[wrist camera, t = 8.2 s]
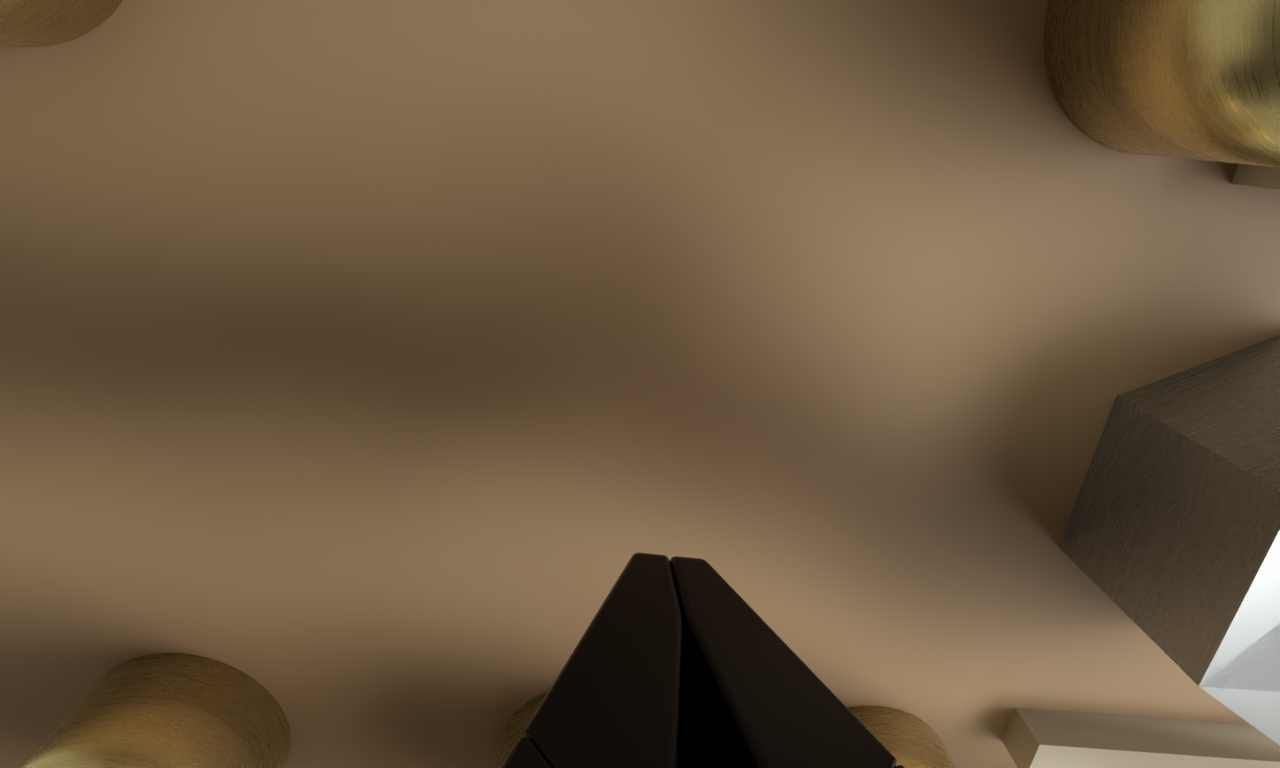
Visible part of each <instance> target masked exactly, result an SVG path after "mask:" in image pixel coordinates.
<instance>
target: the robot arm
mask: <svg viewBox="0 0 1280 768" xmlns="http://www.w3.org/2000/svg"><path fill="white" fill-rule="evenodd" d="M896 764H897V760H896V758H895V757H894V756H893V755H892V754H891V753H890V752H889V751H888V750H887V749H886V748H885V747H884V746H883V745H882V744H881V742H880V741H879V740H878V739H877V738H876V737H875V736H874V735H873V734H872V733H871V732H870V731H869V730H868V729H867V728H866V727H865V726H864V725H863V724H862V723H861V722H860V721H859V720H858V718H857V717H856V716H855V715H854V714H853V713H852V712H851V711H850V710H849V709H848V708H847V707H846V706H845V705H844V704H843V703H842V702H841V701H840V700H839V699H838V698H837V697H836V696H835V694H834V693H833V692H832V691H831V690H830V689H829V688H828V687H827V686H826V685H825V684H824V683H823V682H822V681H821V680H820V679H819V678H818V677H817V676H816V675H815V674H814V673H813V672H812V670H811V669H810V668H809V667H808V666H807V665H806V664H805V663H804V662H803V661H802V660H801V659H800V658H799V657H798V656H797V655H796V654H795V653H794V652H793V651H792V650H791V649H790V648H789V647H788V645H787V644H786V643H785V642H784V641H783V640H782V639H781V638H780V637H779V636H778V635H777V634H776V633H775V632H774V631H773V630H772V629H771V628H770V627H769V626H768V625H767V624H766V623H765V621H764V620H763V619H762V618H761V617H760V616H759V615H758V614H757V613H756V612H755V611H754V610H753V609H752V608H751V607H750V606H749V605H748V604H747V603H746V602H745V601H744V600H743V599H742V597H741V596H740V595H739V594H738V593H737V592H736V591H735V590H734V589H733V588H732V587H731V586H730V585H729V584H728V583H727V582H726V581H725V580H724V579H723V578H722V577H721V576H720V575H719V573H718V572H717V571H716V570H715V569H714V568H713V567H712V566H711V565H710V564H709V563H708V562H707V561H705V560H704V559H700V558H689V557H679V556H675V557H672V558H671V559H670V560H669V559H668V557H667V556H665V555H658V554H648V553H635V554H634V555H633V556H632V557H631V558H630V560H629V562H628V563H627V565H626V566H625V568H624V570H623V571H622V573H621V575H620V576H619V578H618V579H617V581H616V583H615V584H614V586H613V588H612V589H611V591H610V592H609V594H608V596H607V597H606V599H605V600H604V602H603V604H602V605H601V607H600V609H599V610H598V612H597V613H596V615H595V617H594V618H593V620H592V621H591V623H590V625H589V626H588V628H587V630H586V631H585V633H584V634H583V636H582V638H581V639H580V641H579V642H578V644H577V646H576V647H575V649H574V651H573V652H572V654H571V655H570V657H569V659H568V660H567V662H566V663H565V665H564V667H563V668H562V670H561V672H560V673H559V675H558V676H557V678H556V680H555V681H554V683H553V685H552V686H551V688H550V689H549V691H548V693H547V694H546V696H545V697H544V699H543V701H542V702H541V704H540V706H539V707H538V709H537V710H536V712H535V714H534V715H533V717H532V718H531V720H530V722H529V723H528V725H527V727H526V728H525V730H524V732H523V735H522V737H520V738H519V739H518V740H517V742H516V743H515V745H514V747H513V748H512V750H511V752H510V753H509V755H508V756H507V758H506V760H505V761H504V763H503V764H502V766H501V768H905V767H904V766H902V765H898V766H896Z"/></svg>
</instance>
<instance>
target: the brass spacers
mask: <svg viewBox="0 0 1280 768" xmlns="http://www.w3.org/2000/svg"><path fill="white" fill-rule="evenodd" d="M122 1H123V0H0V45H10V46H24V47H40V46H52V45H56V44H61V43H65V42H69V41H71V40H74V39H76V38H79V37H81V36H83V35H86V34H87V33H89V32H90V31H92V30H93V29H95V28H97V27H98V26H100V25H101V24H102V23H103V22H104V21H105V20H106V19H108V18H109V17H110V16H111V15H112V14H113V13H114V11H115V10H116V9H117V8H118V6H119V5H120V4H121V3H122ZM1044 58H1045V66H1046V71H1047V75H1048V79H1049V82H1050V86H1051V88H1052V91H1053V93H1054V95H1055V98H1056V100H1057V102H1058V104H1059V105H1060V107H1061V109H1062V110H1063V112H1064V114H1065V115H1066V116H1067V117H1068V119H1069V120H1070V121H1071V122H1072V123H1073V124H1074V126H1075V127H1076V128H1078V129H1079V130H1080V131H1081V132H1082V133H1084V134H1085V135H1086V136H1087V137H1089V138H1090V139H1092V140H1094V141H1095V142H1097V143H1099V144H1100V145H1103V146H1105V147H1108V148H1111V149H1113V150H1116V151H1121V152H1125V153H1130V154H1139V155H1150V156H1161V157H1172V158H1183V159H1194V160H1204V161H1215V162H1226V163H1237V164H1248V165H1259V166H1270V167H1280V0H1048V4H1047V8H1046V15H1045V23H1044ZM547 693H548V692H547ZM547 693H544V694H542V695H540V696H537V697H536V698H534V699H532V700H530V701H529V702H527V703H526V704H524V705H523V706H522V707H520V708H519V709H518V710H517V711H516V712H515V713H514V714H513V715H512V716H511V717H510V719H509V720H508V721H507V722H506V724H505V725H504V727H503V729H502V731H501V733H500V736H499V739H498V742H497V747H496V752H495V758H494V763H493V768H501V766H502V764H503V763H504V761H505V760H506V758H507V756H508V755H509V753H510V752H511V750H512V748H513V747H514V745H515V743H516V742H517V740H518V739H519V738H520V737H522V735H523V732H524V730H525V728H526V727H527V725H528V723H529V722H530V720H531V718H532V717H533V715H534V714H535V712H536V710H537V709H538V707H539V706H540V704H541V702H542V701H543V699H544V697H545V696H546V694H547ZM848 709H849V710H850V711H851V712H852V713H853V714H854V715H855V716H856V717H857V718H858V720H859V721H860V722H861V723H862V724H863V725H864V726H865V727H866V728H867V729H868V730H869V731H870V732H871V733H872V734H873V735H874V736H875V737H876V738H877V739H878V740H879V741H880V742H881V744H882V745H883V746H884V747H885V748H886V749H887V750H888V751H889V752H890V753H891V754H892V755H893V756H894V757H895V758H896V760H897V764H896V766H898V765H902V766H904V767H905V768H955V766H954V764H953V762H952V760H951V758H950V756H949V754H948V753H947V751H946V749H945V747H944V745H943V743H942V741H941V739H940V737H939V736H938V735H937V733H936V732H935V731H934V730H933V729H932V728H931V727H930V726H929V725H928V724H927V723H926V722H924V721H923V720H922V719H920V718H918V717H916V716H914V715H913V714H910V713H908V712H905V711H902V710H899V709H895V708H891V707H884V706H854V707H848ZM290 748H291V733H290V727H289V724H288V721H287V718H286V716H285V714H284V712H283V710H282V708H281V707H280V705H279V704H278V702H277V701H276V700H275V698H274V697H273V696H272V695H271V694H270V693H269V692H268V691H267V690H266V689H265V688H264V687H263V686H262V685H261V684H259V683H258V682H257V681H256V680H254V679H253V678H251V677H250V676H248V675H247V674H245V673H243V672H241V671H240V670H238V669H236V668H234V667H232V666H229V665H227V664H225V663H222V662H220V661H216V660H213V659H210V658H206V657H202V656H197V655H191V654H183V653H159V654H151V655H145V656H141V657H137V658H134V659H131V660H128V661H126V662H124V663H122V664H120V665H118V666H117V667H115V668H114V669H112V670H111V671H109V672H108V673H107V674H106V675H105V676H104V677H103V678H102V679H101V680H100V681H99V682H98V683H97V684H96V685H95V687H94V688H93V689H92V690H91V691H90V692H89V693H88V694H87V695H86V696H85V698H84V699H83V700H82V701H81V702H80V703H79V704H78V705H77V706H76V708H75V709H74V710H73V711H72V712H71V713H70V714H69V715H68V716H67V718H66V719H65V720H64V721H63V722H62V723H61V724H60V725H59V726H58V728H57V729H56V730H55V731H54V732H53V733H52V734H51V735H50V736H49V738H48V739H47V740H46V741H45V742H44V743H43V744H42V745H41V746H40V747H39V749H38V750H37V751H36V752H35V753H34V754H33V755H32V756H31V757H30V759H29V760H28V761H27V762H26V763H25V764H24V765H23V766H22V767H21V768H283V767H284V765H285V763H286V761H287V759H288V756H289V753H290Z"/></svg>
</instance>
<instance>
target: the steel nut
mask: <svg viewBox="0 0 1280 768" xmlns="http://www.w3.org/2000/svg"><path fill="white" fill-rule="evenodd" d="M1058 547H1059V548H1060V549H1061V550H1062V551H1063V552H1064V553H1065V554H1066V555H1067V556H1068V557H1069V558H1070V559H1071V560H1072V561H1073V562H1074V563H1075V564H1076V565H1077V566H1078V567H1079V568H1080V569H1081V570H1082V571H1083V572H1084V573H1085V574H1086V575H1087V576H1089V577H1090V578H1091V579H1092V580H1093V581H1094V582H1095V583H1096V584H1097V585H1098V586H1099V587H1100V588H1101V589H1102V590H1103V591H1104V592H1105V593H1106V594H1107V595H1108V596H1109V597H1110V598H1111V599H1112V600H1113V601H1114V602H1115V603H1116V604H1117V605H1118V606H1119V607H1120V608H1121V609H1122V610H1123V611H1124V612H1125V613H1126V614H1127V615H1128V616H1129V617H1130V618H1131V619H1132V620H1133V621H1134V622H1135V623H1136V624H1137V625H1138V626H1139V627H1140V628H1141V629H1142V630H1143V631H1144V632H1145V633H1146V634H1147V635H1148V636H1149V637H1150V638H1151V639H1152V640H1153V641H1154V642H1155V643H1156V644H1157V645H1158V646H1159V647H1160V648H1161V649H1162V650H1163V651H1164V652H1165V653H1166V654H1167V655H1168V656H1169V657H1170V658H1171V659H1172V660H1173V661H1174V662H1175V663H1176V664H1177V665H1178V666H1179V667H1180V668H1181V669H1182V670H1183V671H1184V672H1185V673H1186V674H1187V675H1188V676H1189V677H1190V678H1191V679H1192V680H1193V681H1194V682H1195V683H1196V684H1197V685H1198V686H1199V687H1200V688H1202V689H1203V690H1204V691H1206V692H1207V693H1209V694H1210V695H1211V696H1213V697H1214V698H1215V699H1217V700H1218V701H1219V702H1221V703H1222V704H1224V705H1225V706H1226V707H1228V708H1229V709H1230V710H1232V711H1233V712H1235V713H1236V714H1237V715H1239V716H1240V717H1241V718H1243V719H1244V720H1245V721H1247V722H1248V723H1250V724H1251V725H1252V726H1254V727H1255V728H1256V729H1258V730H1259V731H1261V732H1262V733H1263V734H1265V735H1266V736H1267V737H1269V738H1270V739H1271V740H1273V741H1274V742H1276V743H1277V744H1278V745H1280V335H1278V336H1275V337H1272V338H1270V339H1267V340H1264V341H1262V342H1259V343H1256V344H1254V345H1251V346H1248V347H1246V348H1243V349H1240V350H1238V351H1235V352H1232V353H1230V354H1227V355H1225V356H1222V357H1219V358H1217V359H1214V360H1211V361H1209V362H1206V363H1203V364H1201V365H1198V366H1195V367H1193V368H1190V369H1187V370H1185V371H1182V372H1179V373H1177V374H1174V375H1171V376H1169V377H1166V378H1163V379H1161V380H1158V381H1155V382H1153V383H1150V384H1147V385H1145V386H1142V387H1139V388H1137V389H1134V390H1131V391H1129V392H1126V393H1123V394H1121V395H1118V396H1117V397H1116V399H1115V402H1114V404H1113V407H1112V409H1111V412H1110V415H1109V417H1108V420H1107V422H1106V425H1105V427H1104V430H1103V433H1102V435H1101V438H1100V440H1099V443H1098V445H1097V448H1096V450H1095V453H1094V456H1093V458H1092V461H1091V463H1090V466H1089V468H1088V471H1087V474H1086V476H1085V479H1084V481H1083V484H1082V486H1081V489H1080V492H1079V494H1078V497H1077V499H1076V502H1075V504H1074V507H1073V509H1072V512H1071V515H1070V517H1069V520H1068V522H1067V525H1066V527H1065V530H1064V533H1063V535H1062V538H1061V540H1060V543H1059V545H1058Z"/></svg>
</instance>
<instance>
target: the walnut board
mask: <svg viewBox="0 0 1280 768" xmlns="http://www.w3.org/2000/svg"><path fill="white" fill-rule="evenodd" d="M1047 4H1048V0H123V1H122V3H121V4H120V5H119V6H118V8H117V9H116V10H115V11H114V13H113V14H112V15H111V16H110V17H109V18H108V19H106V20H105V21H104V22H103V23H102V24H101V25H100V26H98V27H97V28H95V29H93V30H92V31H90V32H89V33H87V34H86V35H83V36H81V37H79V38H76V39H74V40H71V41H69V42H65V43H61V44H56V45H52V46H40V47H24V46H10V45H0V768H21V767H22V766H23V765H24V764H25V763H26V762H27V761H28V760H29V759H30V757H31V756H32V755H33V754H34V753H35V752H36V751H37V750H38V749H39V747H40V746H41V745H42V744H43V743H44V742H45V741H46V740H47V739H48V738H49V736H50V735H51V734H52V733H53V732H54V731H55V730H56V729H57V728H58V726H59V725H60V724H61V723H62V722H63V721H64V720H65V719H66V718H67V716H68V715H69V714H70V713H71V712H72V711H73V710H74V709H75V708H76V706H77V705H78V704H79V703H80V702H81V701H82V700H83V699H84V698H85V696H86V695H87V694H88V693H89V692H90V691H91V690H92V689H93V688H94V687H95V685H96V684H97V683H98V682H99V681H100V680H101V679H102V678H103V677H104V676H105V675H106V674H107V673H108V672H109V671H111V670H112V669H114V668H115V667H117V666H118V665H120V664H122V663H124V662H126V661H128V660H131V659H134V658H137V657H141V656H145V655H151V654H159V653H183V654H191V655H197V656H202V657H206V658H210V659H213V660H216V661H220V662H222V663H225V664H227V665H229V666H232V667H234V668H236V669H238V670H240V671H241V672H243V673H245V674H247V675H248V676H250V677H251V678H253V679H254V680H256V681H257V682H258V683H259V684H261V685H262V686H263V687H264V688H265V689H266V690H267V691H268V692H269V693H270V694H271V695H272V696H273V697H274V698H275V700H276V701H277V702H278V704H279V705H280V707H281V708H282V710H283V712H284V714H285V716H286V718H287V721H288V724H289V727H290V733H291V748H290V753H289V756H288V759H287V761H286V763H285V765H284V767H283V768H493V763H494V758H495V752H496V747H497V742H498V739H499V736H500V733H501V731H502V729H503V727H504V725H505V724H506V722H507V721H508V720H509V719H510V717H511V716H512V715H513V714H514V713H515V712H516V711H517V710H518V709H519V708H520V707H522V706H523V705H524V704H526V703H527V702H529V701H530V700H532V699H534V698H536V697H537V696H540V695H542V694H544V693H547V692H548V691H549V689H550V688H551V686H552V685H553V683H554V681H555V680H556V678H557V676H558V675H559V673H560V672H561V670H562V668H563V667H564V665H565V663H566V662H567V660H568V659H569V657H570V655H571V654H572V652H573V651H574V649H575V647H576V646H577V644H578V642H579V641H580V639H581V638H582V636H583V634H584V633H585V631H586V630H587V628H588V626H589V625H590V623H591V621H592V620H593V618H594V617H595V615H596V613H597V612H598V610H599V609H600V607H601V605H602V604H603V602H604V600H605V599H606V597H607V596H608V594H609V592H610V591H611V589H612V588H613V586H614V584H615V583H616V581H617V579H618V578H619V576H620V575H621V573H622V571H623V570H624V568H625V566H626V565H627V563H628V562H629V560H630V558H631V557H632V556H633V555H634V554H635V553H648V554H658V555H665V556H667V557H668V559H669V560H670V559H671V558H672V557H675V556H679V557H689V558H700V559H704V560H705V561H707V562H708V563H709V564H710V565H711V566H712V567H713V568H714V569H715V570H716V571H717V572H718V573H719V575H720V576H721V577H722V578H723V579H724V580H725V581H726V582H727V583H728V584H729V585H730V586H731V587H732V588H733V589H734V590H735V591H736V592H737V593H738V594H739V595H740V596H741V597H742V599H743V600H744V601H745V602H746V603H747V604H748V605H749V606H750V607H751V608H752V609H753V610H754V611H755V612H756V613H757V614H758V615H759V616H760V617H761V618H762V619H763V620H764V621H765V623H766V624H767V625H768V626H769V627H770V628H771V629H772V630H773V631H774V632H775V633H776V634H777V635H778V636H779V637H780V638H781V639H782V640H783V641H784V642H785V643H786V644H787V645H788V647H789V648H790V649H791V650H792V651H793V652H794V653H795V654H796V655H797V656H798V657H799V658H800V659H801V660H802V661H803V662H804V663H805V664H806V665H807V666H808V667H809V668H810V669H811V670H812V672H813V673H814V674H815V675H816V676H817V677H818V678H819V679H820V680H821V681H822V682H823V683H824V684H825V685H826V686H827V687H828V688H829V689H830V690H831V691H832V692H833V693H834V694H835V696H836V697H837V698H838V699H839V700H840V701H841V702H842V703H843V704H844V705H845V706H846V707H847V708H848V707H854V706H884V707H891V708H895V709H899V710H902V711H905V712H908V713H910V714H913V715H914V716H916V717H918V718H920V719H922V720H923V721H924V722H926V723H927V724H928V725H929V726H930V727H931V728H932V729H933V730H934V731H935V732H936V733H937V735H938V736H939V737H940V739H941V741H942V743H943V745H944V747H945V749H946V751H947V753H948V754H949V756H950V758H951V760H952V762H953V764H954V766H955V768H1280V745H1278V744H1277V743H1276V742H1274V741H1273V740H1271V739H1270V738H1269V737H1267V736H1266V735H1265V734H1263V733H1262V732H1261V731H1259V730H1258V729H1256V728H1255V727H1254V726H1252V725H1251V724H1250V723H1248V722H1247V721H1245V720H1244V719H1243V718H1241V717H1240V716H1239V715H1237V714H1236V713H1235V712H1233V711H1232V710H1230V709H1229V708H1228V707H1226V706H1225V705H1224V704H1222V703H1221V702H1219V701H1218V700H1217V699H1215V698H1214V697H1213V696H1211V695H1210V694H1209V693H1207V692H1206V691H1204V690H1203V689H1202V688H1200V687H1199V686H1198V685H1197V684H1196V683H1195V682H1194V681H1193V680H1192V679H1191V678H1190V677H1189V676H1188V675H1187V674H1186V673H1185V672H1184V671H1183V670H1182V669H1181V668H1180V667H1179V666H1178V665H1177V664H1176V663H1175V662H1174V661H1173V660H1172V659H1171V658H1170V657H1169V656H1168V655H1167V654H1166V653H1165V652H1164V651H1163V650H1162V649H1161V648H1160V647H1159V646H1158V645H1157V644H1156V643H1155V642H1154V641H1153V640H1152V639H1151V638H1150V637H1149V636H1148V635H1147V634H1146V633H1145V632H1144V631H1143V630H1142V629H1141V628H1140V627H1139V626H1138V625H1137V624H1136V623H1135V622H1134V621H1133V620H1132V619H1131V618H1130V617H1129V616H1128V615H1127V614H1126V613H1125V612H1124V611H1123V610H1122V609H1121V608H1120V607H1119V606H1118V605H1117V604H1116V603H1115V602H1114V601H1113V600H1112V599H1111V598H1110V597H1109V596H1108V595H1107V594H1106V593H1105V592H1104V591H1103V590H1102V589H1101V588H1100V587H1099V586H1098V585H1097V584H1096V583H1095V582H1094V581H1093V580H1092V579H1091V578H1090V577H1089V576H1087V575H1086V574H1085V573H1084V572H1083V571H1082V570H1081V569H1080V568H1079V567H1078V566H1077V565H1076V564H1075V563H1074V562H1073V561H1072V560H1071V559H1070V558H1069V557H1068V556H1067V555H1066V554H1065V553H1064V552H1063V551H1062V550H1061V549H1060V548H1059V547H1058V545H1059V543H1060V540H1061V538H1062V535H1063V533H1064V530H1065V527H1066V525H1067V522H1068V520H1069V517H1070V515H1071V512H1072V509H1073V507H1074V504H1075V502H1076V499H1077V497H1078V494H1079V492H1080V489H1081V486H1082V484H1083V481H1084V479H1085V476H1086V474H1087V471H1088V468H1089V466H1090V463H1091V461H1092V458H1093V456H1094V453H1095V450H1096V448H1097V445H1098V443H1099V440H1100V438H1101V435H1102V433H1103V430H1104V427H1105V425H1106V422H1107V420H1108V417H1109V415H1110V412H1111V409H1112V407H1113V404H1114V402H1115V399H1116V397H1117V396H1118V395H1121V394H1123V393H1126V392H1129V391H1131V390H1134V389H1137V388H1139V387H1142V386H1145V385H1147V384H1150V383H1153V382H1155V381H1158V380H1161V379H1163V378H1166V377H1169V376H1171V375H1174V374H1177V373H1179V372H1182V371H1185V370H1187V369H1190V368H1193V367H1195V366H1198V365H1201V364H1203V363H1206V362H1209V361H1211V360H1214V359H1217V358H1219V357H1222V356H1225V355H1227V354H1230V353H1232V352H1235V351H1238V350H1240V349H1243V348H1246V347H1248V346H1251V345H1254V344H1256V343H1259V342H1262V341H1264V340H1267V339H1270V338H1272V337H1275V336H1278V335H1280V167H1270V166H1259V165H1248V164H1237V163H1226V162H1215V161H1204V160H1194V159H1183V158H1172V157H1161V156H1150V155H1139V154H1130V153H1125V152H1121V151H1116V150H1113V149H1111V148H1108V147H1105V146H1103V145H1100V144H1099V143H1097V142H1095V141H1094V140H1092V139H1090V138H1089V137H1087V136H1086V135H1085V134H1084V133H1082V132H1081V131H1080V130H1079V129H1078V128H1076V127H1075V126H1074V124H1073V123H1072V122H1071V121H1070V120H1069V119H1068V117H1067V116H1066V115H1065V114H1064V112H1063V110H1062V109H1061V107H1060V105H1059V104H1058V102H1057V100H1056V98H1055V95H1054V93H1053V91H1052V88H1051V86H1050V82H1049V79H1048V75H1047V71H1046V66H1045V58H1044V23H1045V15H1046V8H1047Z"/></svg>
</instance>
